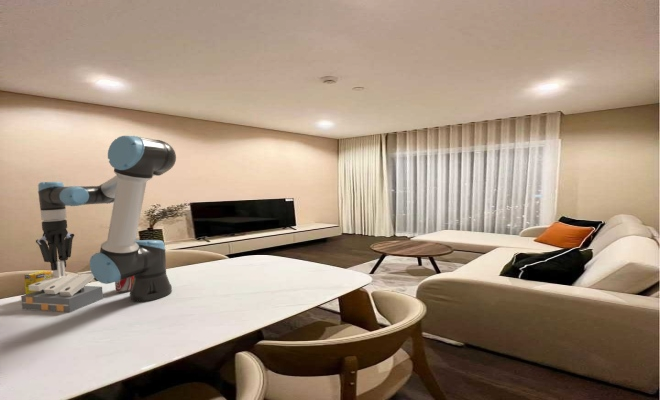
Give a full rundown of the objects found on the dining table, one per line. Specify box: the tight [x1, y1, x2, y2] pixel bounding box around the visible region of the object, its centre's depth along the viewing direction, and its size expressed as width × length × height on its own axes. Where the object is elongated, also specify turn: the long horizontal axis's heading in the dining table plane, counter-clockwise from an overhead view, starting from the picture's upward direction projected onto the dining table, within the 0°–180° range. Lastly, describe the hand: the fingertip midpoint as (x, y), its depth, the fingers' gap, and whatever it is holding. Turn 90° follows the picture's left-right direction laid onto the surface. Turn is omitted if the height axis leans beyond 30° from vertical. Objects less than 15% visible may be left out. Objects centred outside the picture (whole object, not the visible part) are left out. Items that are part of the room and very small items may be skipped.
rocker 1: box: [28, 276, 65, 291], centre depth 119 cm, size 5×10×2 cm, turn 170°
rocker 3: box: [59, 273, 95, 296], centre depth 116 cm, size 5×10×2 cm, turn 170°
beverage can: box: [114, 276, 134, 294], centre depth 132 cm, size 8×8×12 cm
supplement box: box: [23, 270, 52, 295], centre depth 123 cm, size 6×6×11 cm
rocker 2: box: [43, 273, 80, 294], centre depth 117 cm, size 5×10×2 cm, turn 170°
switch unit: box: [20, 285, 104, 313], centre depth 118 cm, size 22×13×6 cm, turn 80°
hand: (59, 276), depth 123 cm, fingers closed
